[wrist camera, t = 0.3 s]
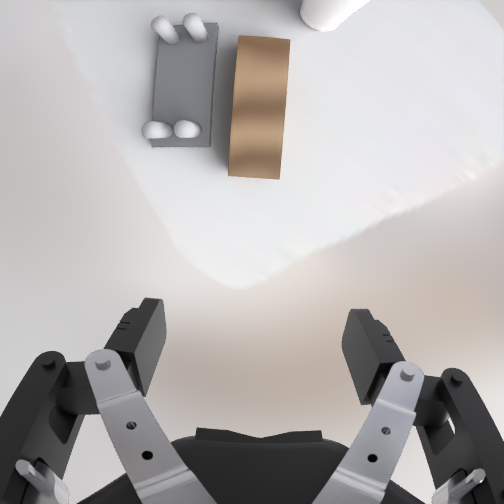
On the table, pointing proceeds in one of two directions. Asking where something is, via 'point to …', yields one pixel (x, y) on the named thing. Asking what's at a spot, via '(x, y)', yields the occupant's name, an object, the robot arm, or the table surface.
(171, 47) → the peg stand
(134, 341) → the robot arm
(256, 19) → the table surface
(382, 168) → the table surface
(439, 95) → the table surface
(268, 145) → the brown rectangular block
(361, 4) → the drinking glass
